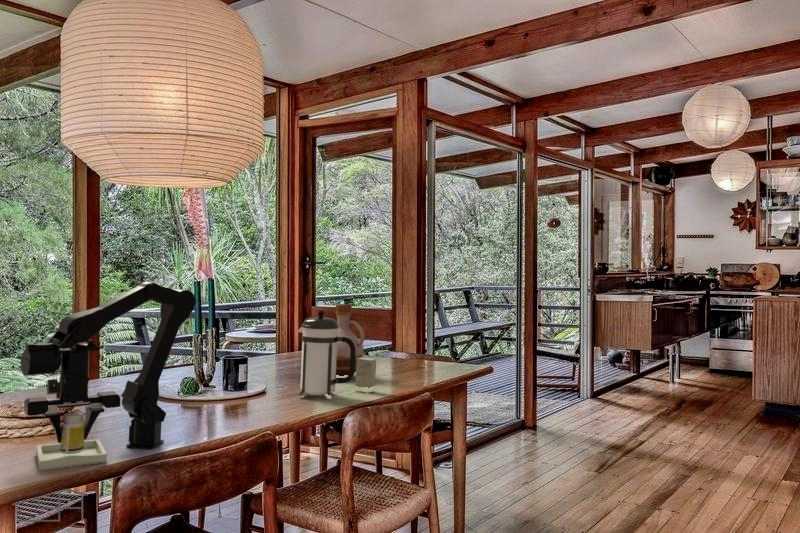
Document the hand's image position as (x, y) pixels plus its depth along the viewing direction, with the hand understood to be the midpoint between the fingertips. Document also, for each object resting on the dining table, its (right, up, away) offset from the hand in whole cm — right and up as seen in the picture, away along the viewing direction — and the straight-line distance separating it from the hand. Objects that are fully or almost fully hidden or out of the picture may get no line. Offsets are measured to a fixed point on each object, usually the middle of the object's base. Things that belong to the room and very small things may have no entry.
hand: (72, 440), depth 143 cm
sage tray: (0, -4, 0) cm, 4 cm away
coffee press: (+46, -6, +79) cm, 91 cm away
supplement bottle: (0, -3, 0) cm, 3 cm away
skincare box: (+61, -7, +90) cm, 109 cm away
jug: (+50, -6, +116) cm, 127 cm away
